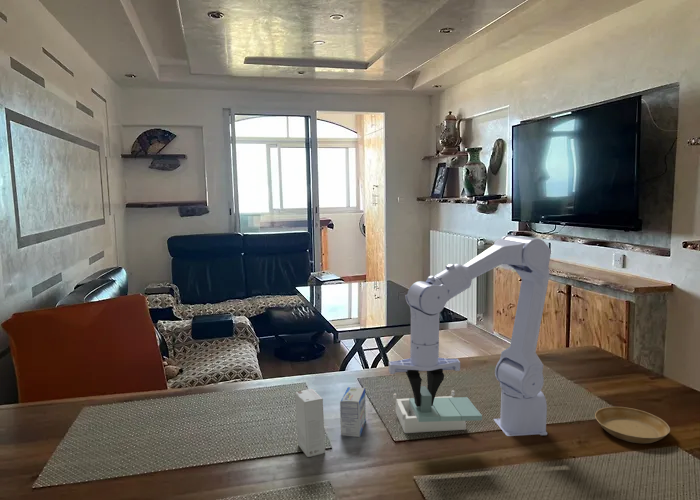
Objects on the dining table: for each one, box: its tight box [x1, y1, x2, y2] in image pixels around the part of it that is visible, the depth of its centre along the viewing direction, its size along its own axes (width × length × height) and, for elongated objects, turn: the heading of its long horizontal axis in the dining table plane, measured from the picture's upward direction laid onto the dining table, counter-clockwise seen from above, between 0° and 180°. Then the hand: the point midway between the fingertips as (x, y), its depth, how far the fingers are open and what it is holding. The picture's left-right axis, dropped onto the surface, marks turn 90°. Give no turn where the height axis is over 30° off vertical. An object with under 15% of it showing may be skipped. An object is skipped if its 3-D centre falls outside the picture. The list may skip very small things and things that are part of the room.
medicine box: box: [339, 386, 367, 438], centre depth 114 cm, size 8×4×9 cm, turn 168°
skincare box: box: [294, 388, 326, 458], centre depth 106 cm, size 6×4×12 cm
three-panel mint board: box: [408, 385, 483, 422], centre depth 104 cm, size 13×9×4 cm
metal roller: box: [409, 407, 416, 416], centre depth 119 cm, size 4×2×2 cm
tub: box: [392, 390, 467, 434], centre depth 117 cm, size 15×11×5 cm
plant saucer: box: [594, 406, 671, 444], centre depth 113 cm, size 15×15×3 cm
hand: (423, 404), depth 104 cm, fingers closed on three-panel mint board, 2 cm apart
